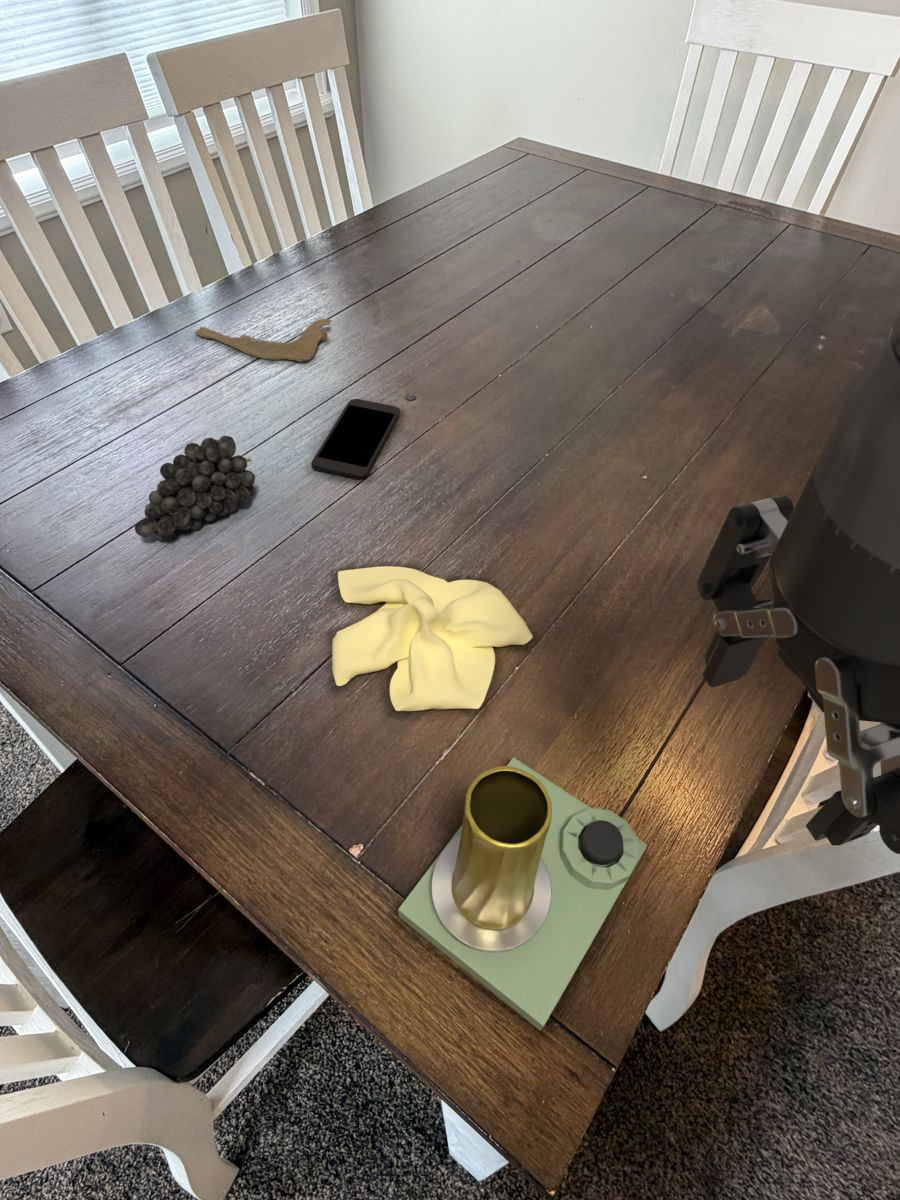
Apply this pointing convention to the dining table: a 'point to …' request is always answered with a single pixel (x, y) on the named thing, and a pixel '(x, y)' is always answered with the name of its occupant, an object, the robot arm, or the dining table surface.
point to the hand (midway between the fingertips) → (770, 747)
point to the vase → (500, 846)
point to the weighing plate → (474, 933)
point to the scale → (572, 920)
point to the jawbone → (275, 343)
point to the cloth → (425, 636)
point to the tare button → (601, 842)
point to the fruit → (197, 488)
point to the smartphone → (356, 439)
